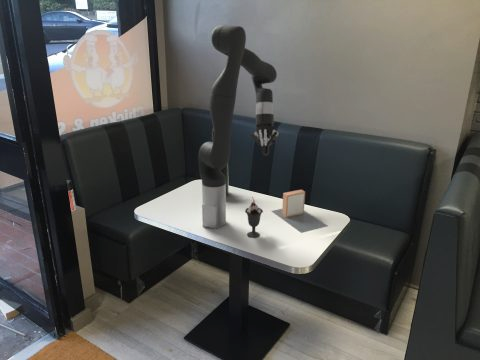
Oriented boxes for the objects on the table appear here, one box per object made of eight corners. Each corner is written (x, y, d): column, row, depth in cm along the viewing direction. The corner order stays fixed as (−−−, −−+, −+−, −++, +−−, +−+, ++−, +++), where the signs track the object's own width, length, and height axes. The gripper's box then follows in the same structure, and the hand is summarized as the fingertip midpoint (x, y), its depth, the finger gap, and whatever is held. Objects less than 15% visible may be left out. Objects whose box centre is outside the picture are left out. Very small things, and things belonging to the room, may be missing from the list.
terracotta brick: (282, 215, 166) (283, 193, 163) (299, 211, 170) (301, 189, 167) (285, 217, 164) (287, 195, 160) (303, 213, 168) (305, 191, 164)
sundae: (251, 229, 156) (252, 193, 151) (265, 234, 152) (266, 198, 147) (241, 235, 151) (241, 199, 146) (255, 240, 147) (256, 203, 142)
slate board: (327, 227, 158) (328, 225, 157) (301, 234, 152) (301, 232, 152) (296, 207, 176) (296, 205, 176) (271, 212, 170) (271, 211, 170)
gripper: (282, 113, 167) (283, 154, 167) (256, 116, 175) (257, 156, 175) (273, 111, 161) (274, 153, 161) (246, 114, 168) (247, 155, 168)
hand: (265, 155), depth 168 cm, fingers closed
